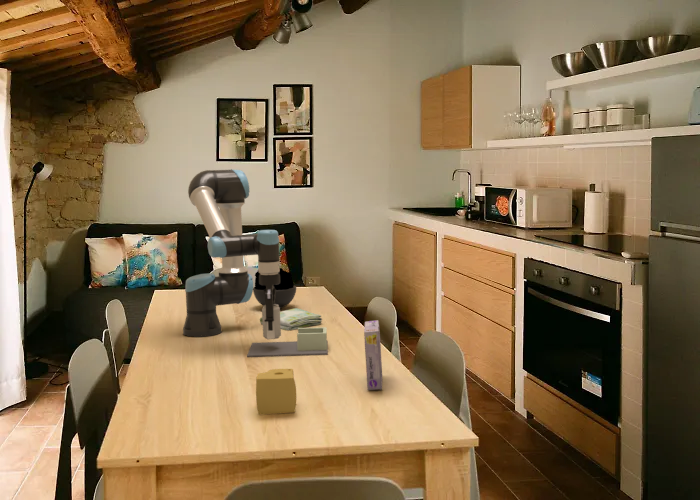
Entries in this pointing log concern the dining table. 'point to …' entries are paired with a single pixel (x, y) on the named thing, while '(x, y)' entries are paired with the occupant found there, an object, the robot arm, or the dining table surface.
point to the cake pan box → (373, 355)
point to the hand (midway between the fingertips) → (271, 336)
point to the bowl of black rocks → (277, 289)
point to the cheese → (276, 392)
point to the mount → (294, 345)
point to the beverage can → (276, 321)
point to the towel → (297, 319)
